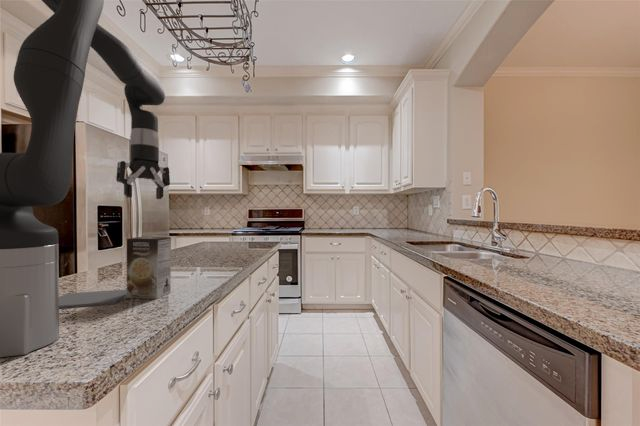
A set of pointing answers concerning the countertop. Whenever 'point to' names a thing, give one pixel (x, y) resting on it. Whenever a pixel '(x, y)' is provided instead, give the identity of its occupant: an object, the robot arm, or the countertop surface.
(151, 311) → the countertop surface
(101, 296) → the mat
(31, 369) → the countertop surface
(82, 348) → the countertop surface
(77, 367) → the countertop surface
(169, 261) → the coffee box
